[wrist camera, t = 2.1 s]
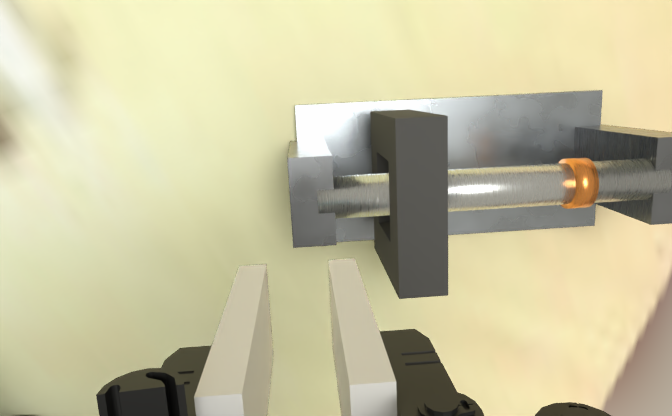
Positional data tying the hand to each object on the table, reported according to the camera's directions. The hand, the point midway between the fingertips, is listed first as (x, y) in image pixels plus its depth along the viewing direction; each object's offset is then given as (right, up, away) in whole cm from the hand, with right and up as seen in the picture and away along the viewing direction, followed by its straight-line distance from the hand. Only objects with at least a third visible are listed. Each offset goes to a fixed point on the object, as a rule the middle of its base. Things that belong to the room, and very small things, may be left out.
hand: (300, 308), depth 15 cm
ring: (+5, +5, +20) cm, 21 cm away
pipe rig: (+9, +6, +25) cm, 27 cm away
